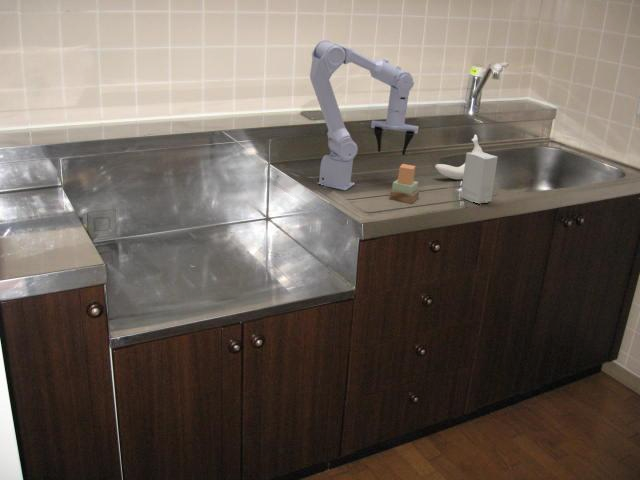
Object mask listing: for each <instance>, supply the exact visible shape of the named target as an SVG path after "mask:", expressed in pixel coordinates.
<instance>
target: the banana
mask: <svg viewBox="0 0 640 480" xmlns="http://www.w3.org/2000/svg"><path fill="white" fill-rule="evenodd" d="M471 141H472V143H473V146H474V147H473V149H472V151H471V152H474V151H481V152H484V151H483V149H482V147H481V146H480V145H479V138H478V135H477V134H474V136H473V138H471ZM434 166H435V169H436V171H438V172H439V173H440V174H441V175H442V176H444V177H446V178H450V179H451V180H452V179H453V180H458V181H459V180H463V176H464V168H465V162H464V163H463V164H462V165H460V166H453V165H449V164H443V163H441V164H439V163H437V164H435V165H434Z"/></svg>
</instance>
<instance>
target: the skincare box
mask: <svg viewBox="0 0 640 480" xmlns="http://www.w3.org/2000/svg"><path fill="white" fill-rule="evenodd" d="M498 157H499V156H497V155H494V154H489V153H487V152H484V151H483V152H481V151H474V152H472V151H469V152H466V154H465V161H464V163H465V168H464V176H463V179H462V184H461V192H460V198H461V199H464V200H467V201H469V202H470V203H473V202H475V203H483V202H488V201H491V202H492V197H493V193H494V185H495V179H496V178H495V177H496V170H497V164H498ZM475 203H474V204H475Z"/></svg>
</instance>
